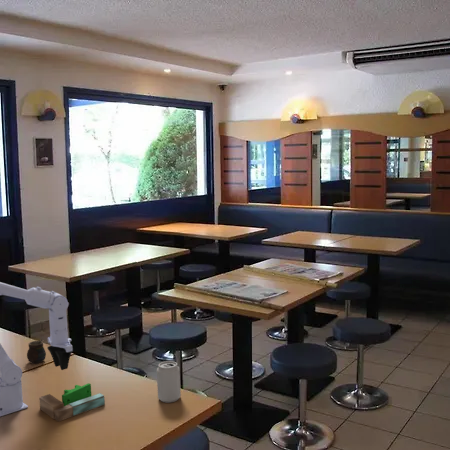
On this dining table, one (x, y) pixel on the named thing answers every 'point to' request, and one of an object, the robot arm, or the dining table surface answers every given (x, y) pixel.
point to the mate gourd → (36, 352)
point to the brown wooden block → (50, 404)
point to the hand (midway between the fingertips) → (61, 367)
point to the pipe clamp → (76, 394)
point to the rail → (79, 407)
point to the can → (168, 381)
